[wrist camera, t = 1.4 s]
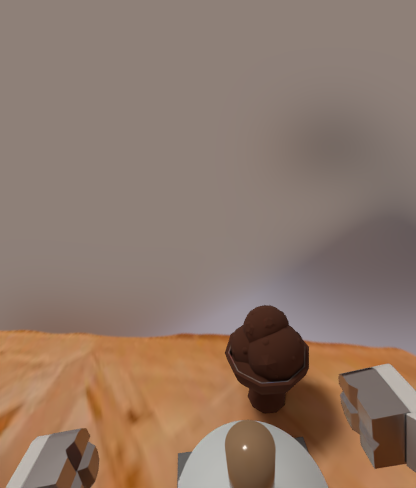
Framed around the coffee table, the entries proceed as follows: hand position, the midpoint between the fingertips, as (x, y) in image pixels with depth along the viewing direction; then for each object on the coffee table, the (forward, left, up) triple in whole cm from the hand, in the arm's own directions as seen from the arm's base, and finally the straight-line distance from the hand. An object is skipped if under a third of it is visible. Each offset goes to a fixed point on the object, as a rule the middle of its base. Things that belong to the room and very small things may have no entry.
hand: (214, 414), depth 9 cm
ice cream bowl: (+7, +21, -31) cm, 38 cm away
